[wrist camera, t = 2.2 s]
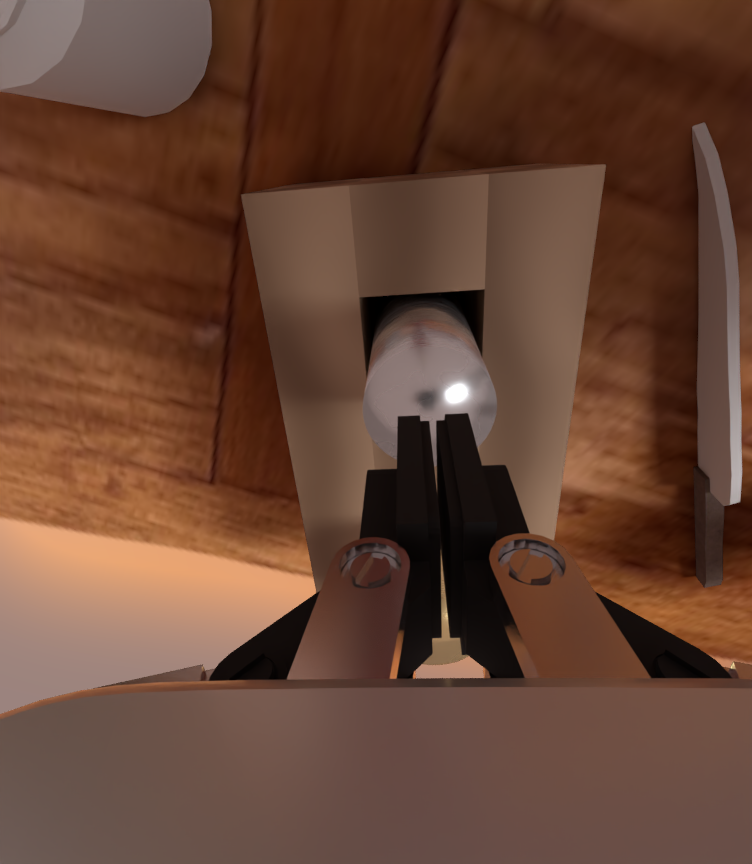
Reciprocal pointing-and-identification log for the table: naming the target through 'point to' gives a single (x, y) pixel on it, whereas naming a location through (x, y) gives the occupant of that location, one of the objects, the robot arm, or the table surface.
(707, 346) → the kitchen knife
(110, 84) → the can
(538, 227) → the socket block
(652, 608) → the table surface
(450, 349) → the steel peg
